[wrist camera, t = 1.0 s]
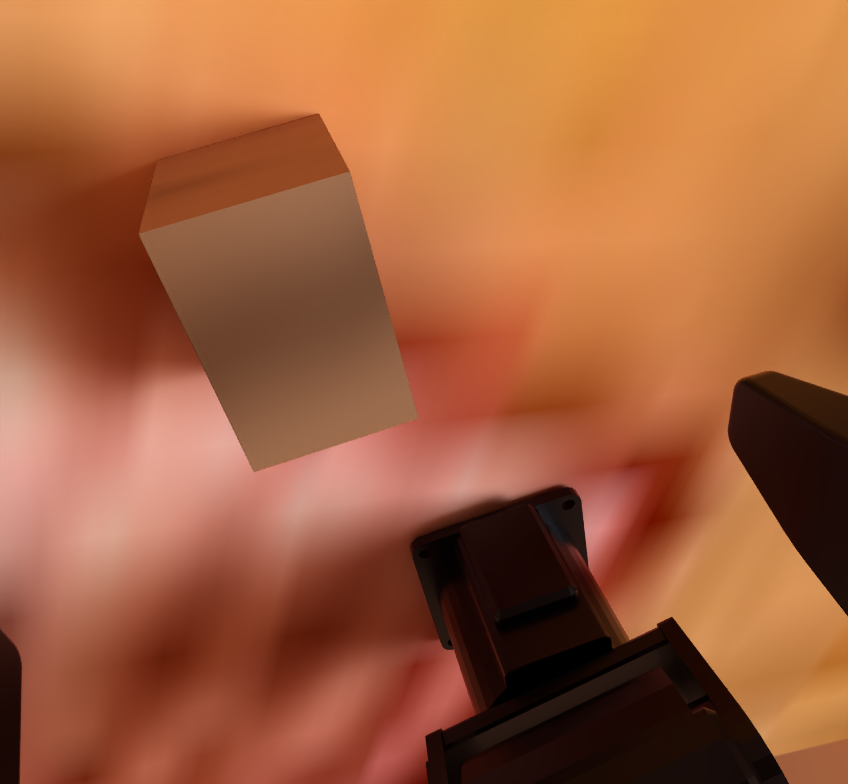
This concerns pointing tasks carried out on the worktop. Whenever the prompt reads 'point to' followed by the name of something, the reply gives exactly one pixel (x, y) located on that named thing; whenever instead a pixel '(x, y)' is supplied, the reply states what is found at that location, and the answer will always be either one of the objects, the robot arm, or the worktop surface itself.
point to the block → (278, 289)
